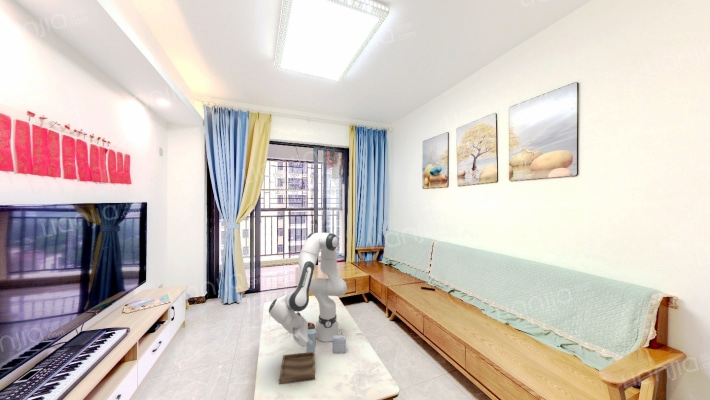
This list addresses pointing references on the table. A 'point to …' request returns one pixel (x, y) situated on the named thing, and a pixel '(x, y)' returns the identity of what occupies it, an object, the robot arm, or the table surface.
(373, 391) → the table surface
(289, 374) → the walnut tray
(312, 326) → the decorative mushroom
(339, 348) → the medicine box
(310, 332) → the slate block
